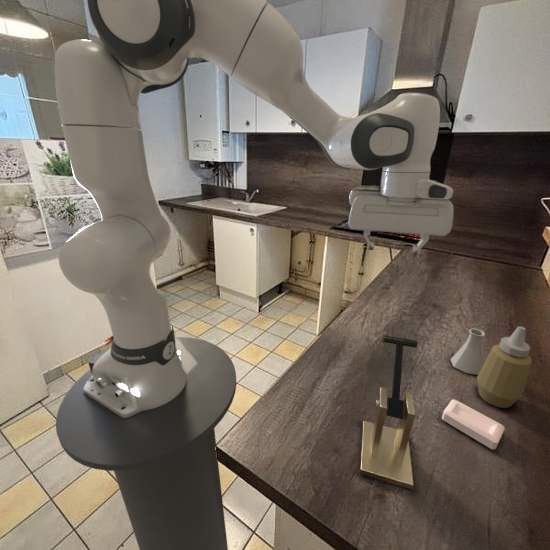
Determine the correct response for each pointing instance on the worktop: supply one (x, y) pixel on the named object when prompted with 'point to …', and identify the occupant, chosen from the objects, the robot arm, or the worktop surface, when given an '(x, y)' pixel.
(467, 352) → the flask
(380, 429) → the cream lever mount
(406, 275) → the worktop surface
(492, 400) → the squeeze bottle
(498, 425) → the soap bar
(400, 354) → the lever
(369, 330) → the worktop surface
